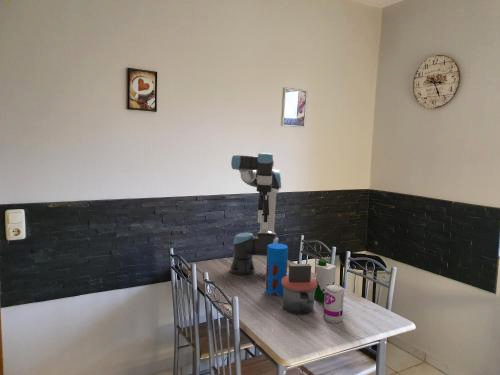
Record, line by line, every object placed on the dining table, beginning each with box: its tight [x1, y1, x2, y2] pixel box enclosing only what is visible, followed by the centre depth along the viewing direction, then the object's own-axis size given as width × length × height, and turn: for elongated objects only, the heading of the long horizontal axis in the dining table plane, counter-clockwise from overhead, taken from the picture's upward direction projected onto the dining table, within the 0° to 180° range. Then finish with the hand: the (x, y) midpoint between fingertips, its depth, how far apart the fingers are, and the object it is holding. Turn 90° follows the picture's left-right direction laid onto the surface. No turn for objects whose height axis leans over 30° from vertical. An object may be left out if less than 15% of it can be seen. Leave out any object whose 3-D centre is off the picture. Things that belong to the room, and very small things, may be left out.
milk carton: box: [314, 259, 337, 304], centre depth 187 cm, size 9×9×20 cm
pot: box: [281, 286, 315, 316], centre depth 177 cm, size 21×16×12 cm
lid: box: [281, 263, 317, 291], centre depth 176 cm, size 17×17×10 cm
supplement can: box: [323, 284, 345, 324], centre depth 167 cm, size 8×8×15 cm
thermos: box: [265, 242, 289, 297], centre depth 195 cm, size 11×11×25 cm
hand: (262, 225), depth 188 cm, fingers open, 13 cm apart
